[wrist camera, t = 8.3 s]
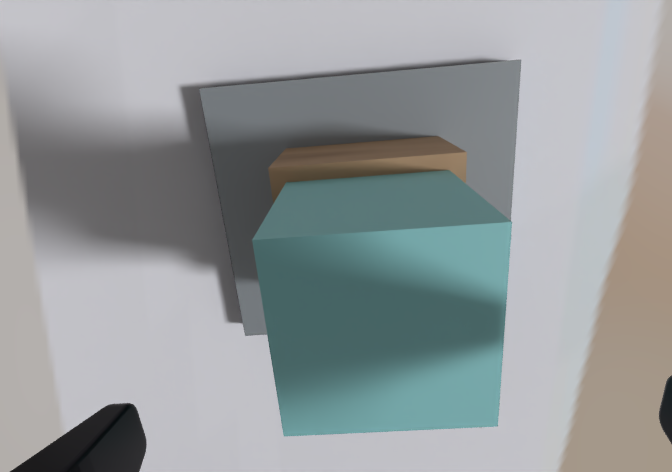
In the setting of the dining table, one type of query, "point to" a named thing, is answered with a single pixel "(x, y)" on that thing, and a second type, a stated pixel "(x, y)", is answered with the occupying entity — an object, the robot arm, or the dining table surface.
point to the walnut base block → (366, 160)
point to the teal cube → (384, 303)
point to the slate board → (353, 138)
